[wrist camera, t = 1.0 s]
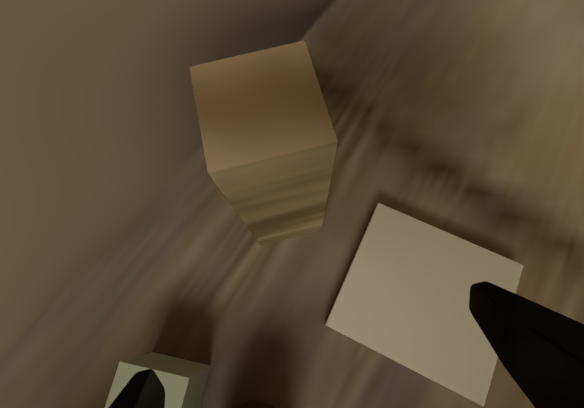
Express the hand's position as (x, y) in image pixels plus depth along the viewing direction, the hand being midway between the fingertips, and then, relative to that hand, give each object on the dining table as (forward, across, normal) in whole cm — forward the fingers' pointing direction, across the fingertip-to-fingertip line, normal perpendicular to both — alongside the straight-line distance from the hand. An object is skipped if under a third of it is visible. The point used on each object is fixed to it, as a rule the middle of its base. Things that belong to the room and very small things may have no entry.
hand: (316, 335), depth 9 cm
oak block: (+15, 0, +4) cm, 15 cm away
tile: (+9, -8, +10) cm, 15 cm away
